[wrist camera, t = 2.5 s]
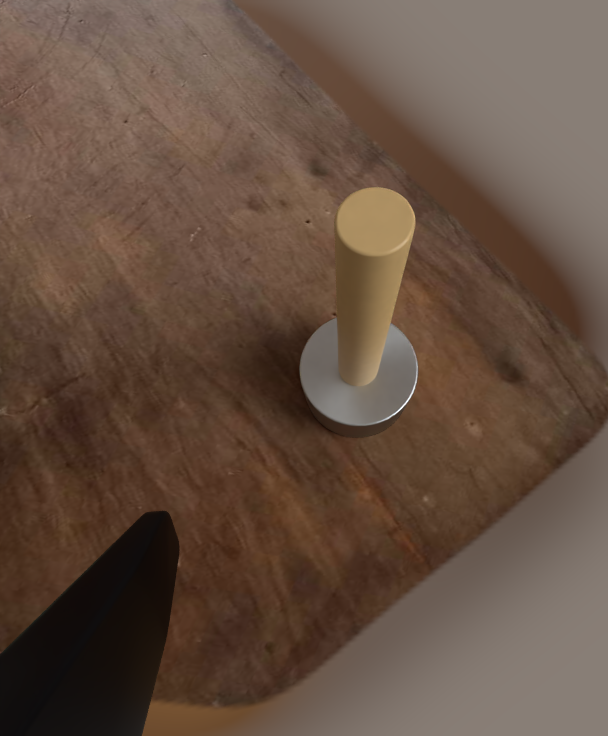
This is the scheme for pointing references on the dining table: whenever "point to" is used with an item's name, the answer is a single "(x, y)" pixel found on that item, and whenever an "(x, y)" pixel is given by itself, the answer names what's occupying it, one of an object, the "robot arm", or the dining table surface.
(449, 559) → the dining table surface
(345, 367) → the peg on silver base
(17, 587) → the dining table surface
